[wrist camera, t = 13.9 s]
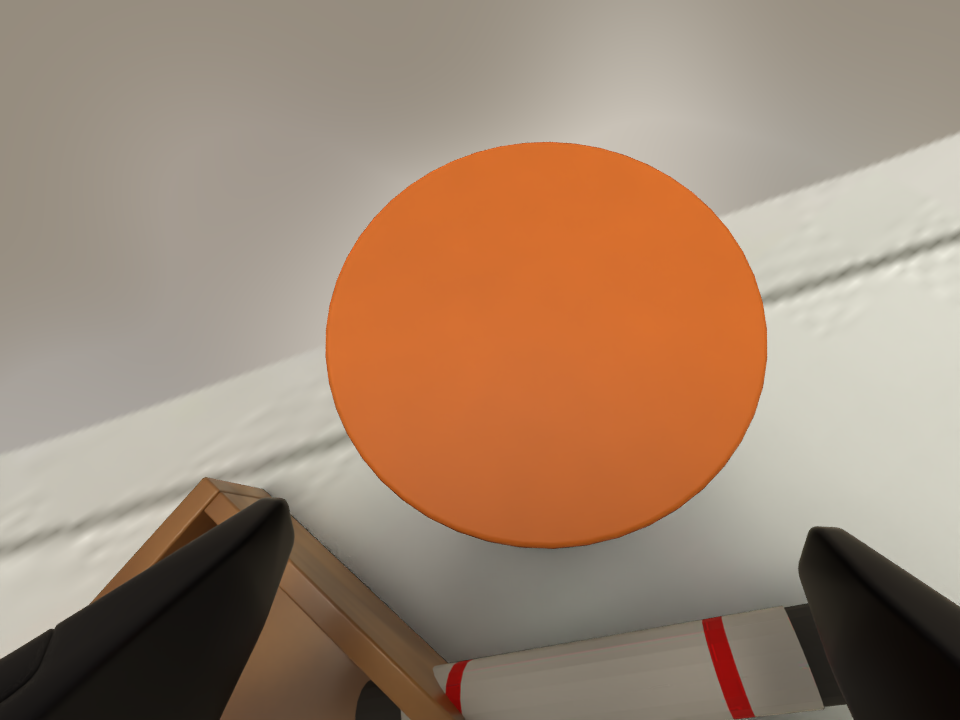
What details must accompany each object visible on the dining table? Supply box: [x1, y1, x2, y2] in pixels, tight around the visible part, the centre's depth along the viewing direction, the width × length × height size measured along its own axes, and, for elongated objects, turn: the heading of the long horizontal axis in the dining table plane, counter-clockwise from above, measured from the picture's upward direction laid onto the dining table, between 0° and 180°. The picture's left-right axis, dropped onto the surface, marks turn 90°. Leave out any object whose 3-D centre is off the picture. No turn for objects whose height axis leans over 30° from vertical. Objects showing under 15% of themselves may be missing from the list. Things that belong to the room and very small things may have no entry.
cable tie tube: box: [326, 142, 767, 549], centre depth 12 cm, size 5×5×12 cm
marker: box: [355, 603, 846, 720], centre depth 13 cm, size 15×2×2 cm, turn 102°
